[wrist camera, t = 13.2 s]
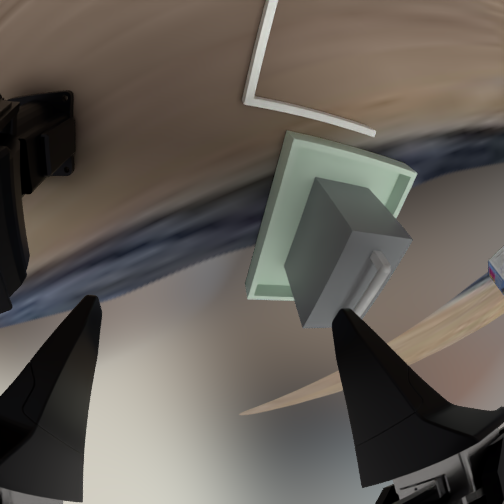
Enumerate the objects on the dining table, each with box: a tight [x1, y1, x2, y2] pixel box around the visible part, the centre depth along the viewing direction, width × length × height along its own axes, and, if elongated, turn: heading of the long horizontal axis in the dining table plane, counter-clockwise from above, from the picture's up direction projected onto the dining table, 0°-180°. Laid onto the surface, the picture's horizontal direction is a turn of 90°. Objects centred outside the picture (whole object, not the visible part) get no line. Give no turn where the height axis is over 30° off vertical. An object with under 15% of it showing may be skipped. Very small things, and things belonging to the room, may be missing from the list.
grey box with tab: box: [284, 177, 413, 328], centre depth 21 cm, size 5×9×9 cm, turn 168°
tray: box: [245, 130, 417, 301], centre depth 24 cm, size 11×15×2 cm
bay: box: [242, 0, 376, 137], centre depth 13 cm, size 10×14×2 cm
